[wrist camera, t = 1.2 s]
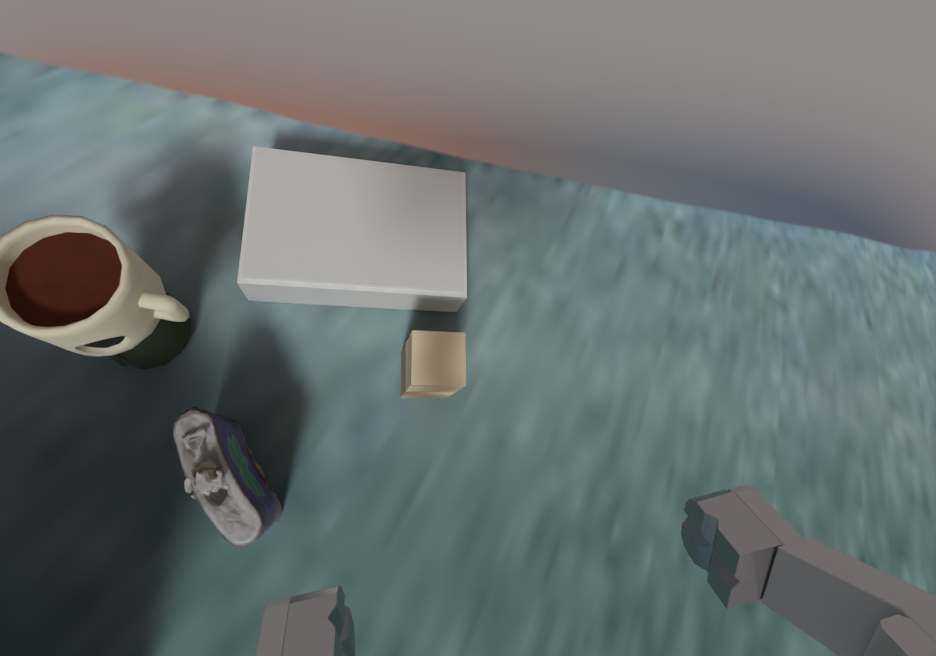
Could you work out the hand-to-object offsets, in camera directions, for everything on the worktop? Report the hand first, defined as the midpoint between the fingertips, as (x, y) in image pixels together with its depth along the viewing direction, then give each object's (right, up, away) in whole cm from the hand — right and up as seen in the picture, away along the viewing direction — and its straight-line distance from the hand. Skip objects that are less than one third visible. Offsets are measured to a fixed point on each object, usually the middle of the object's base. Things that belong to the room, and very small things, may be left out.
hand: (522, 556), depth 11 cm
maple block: (-5, +1, +32) cm, 32 cm away
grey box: (-11, +13, +33) cm, 37 cm away
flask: (-19, -6, +27) cm, 33 cm away
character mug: (-27, +5, +28) cm, 39 cm away
